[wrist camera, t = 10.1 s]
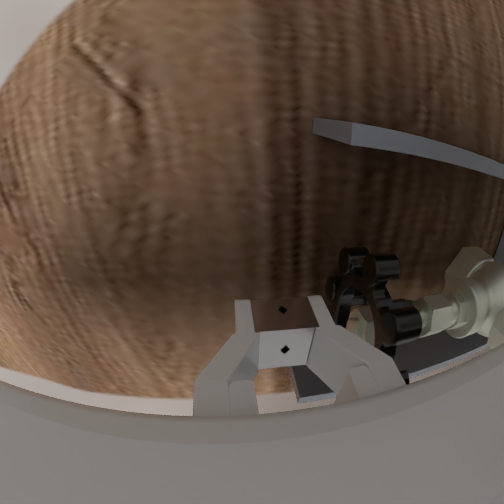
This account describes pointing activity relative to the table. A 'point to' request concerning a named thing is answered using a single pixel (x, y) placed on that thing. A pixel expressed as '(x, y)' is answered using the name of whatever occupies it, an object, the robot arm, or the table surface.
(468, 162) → the valve dock
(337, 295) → the valve
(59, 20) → the table surface
